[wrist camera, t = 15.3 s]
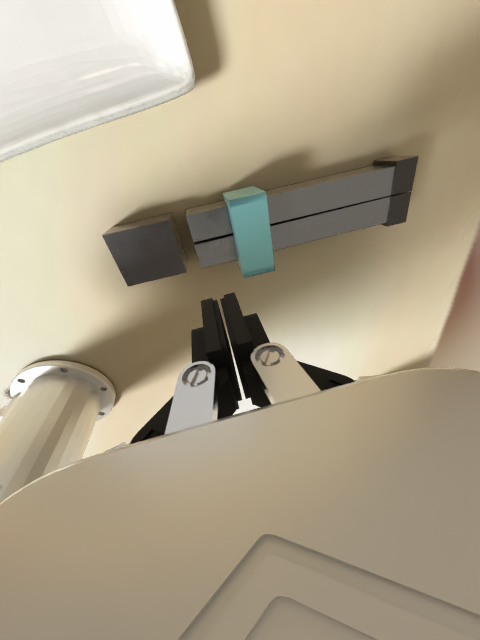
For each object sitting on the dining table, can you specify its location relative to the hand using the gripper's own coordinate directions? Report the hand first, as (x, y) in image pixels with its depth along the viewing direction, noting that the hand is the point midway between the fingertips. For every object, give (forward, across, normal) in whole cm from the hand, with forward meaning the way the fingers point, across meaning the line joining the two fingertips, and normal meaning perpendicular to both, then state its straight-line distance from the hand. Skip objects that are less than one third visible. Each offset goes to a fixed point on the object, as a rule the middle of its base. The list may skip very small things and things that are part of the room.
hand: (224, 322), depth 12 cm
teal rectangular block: (+16, -4, -1) cm, 16 cm away
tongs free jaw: (+16, -10, +1) cm, 19 cm away
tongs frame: (+17, -6, -1) cm, 18 cm away
